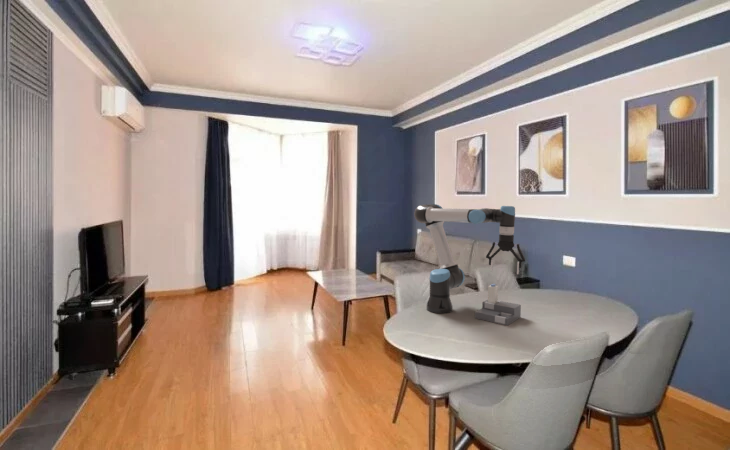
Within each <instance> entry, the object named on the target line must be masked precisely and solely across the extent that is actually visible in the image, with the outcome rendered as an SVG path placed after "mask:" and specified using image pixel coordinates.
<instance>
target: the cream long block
mask: <svg viewBox="0 0 730 450" xmlns="http://www.w3.org/2000/svg"><path fill="white" fill-rule="evenodd" d="M498 293H499V285H496V283H491V284H490V285H488V286H487V300H488V302H489V303H494V304H496V303H498V301H499V300H498V298H499V294H498Z"/></svg>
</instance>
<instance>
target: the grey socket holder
mask: <svg viewBox="0 0 730 450" xmlns="http://www.w3.org/2000/svg"><path fill="white" fill-rule="evenodd" d="M521 309H522V304H518V303H513V302H507V301H503V300H498V303H496V304H494V303H489V302H488V299H486V300H484V301H482V307H481V308H480V309H478V310H476V311H474V319H478V320H483V321H485V320H486V321H487V322H490V323H495V324H498V325H499V324H500V325H503V326H510V324H512V323H514V322H515V321H517V320H518V319H520V318H521V316H522V315H521ZM486 321H485V322H486Z"/></svg>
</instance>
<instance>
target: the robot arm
mask: <svg viewBox="0 0 730 450" xmlns="http://www.w3.org/2000/svg"><path fill="white" fill-rule="evenodd" d="M413 214H414V215H413V216H414V219H415V220H416V221H417V222H418V223H421V224H425V228H426V229H428V230H429V232H430V235H431V238H432V242H433V246H434V248H435V251H436V254H437V259H438V261H439V264H440V265H439V266H440V267H439V268H435V269H433V270H431V271H430V273H429V278H428V279H429V297H428V300H427V303H426V310H427V311H428V310H429V311H428V312H430V311H431V313H434V312H436V313H435V314H447V312H449V313H451V312H453V304H452V300H451V296H450V295H451V294H450V293H451V290H453V289H455V288H459V287H460V286H462V285H463V283H464V282H465V278H466V277H465V273H464V271H463V269H462V268H460V267H459V264H458V263H457V262H455V260H454V257H453V254H452V251H451V247H450V245H449V241H448V238H447V235H446V231H445V228H444V223H447V222H449V223H466V224H467V223H469V224H476V225H478V224H483V223H484V224H485V223H498V224H499V235H498V242H496V241H493V242H492V246H491V247H490V249H489V251H488V252H487V253H486V256H485V259H487V260H488V266H490V272H493V267H494V257H495V256H497V254H498V253H499V252H500V251H502V252H511V254H512V255H513V256H514V257H515V259H516V260H517V263H516V264H517V265H516V275H519V272H520V270H519V269H521V268H522V263H523V262H526V258H525V256H524V253H523V252H522V250H521V246H520V243H514V242H515V241H514V240H515V235H514V234H515V220H516V207H515V206H512V205H501V206H500V208H498V209H495V208H486V207H485V208H478V209H475V208H474V209H472V208H444V207H442V206H441V205H439V204H435V203H431V204H430V203H429V204H420V205H418V206H417V207H416V208H415V209H414V213H413ZM497 246H498V248H497V249H496V251H494V252H493V253H492V251H493V250H494V248H495V247H497ZM514 247H515V248H516V249H517V252H518V253H519V255H518V254H517V252H516V251H515V250H514ZM491 253H492V254H491Z"/></svg>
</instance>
